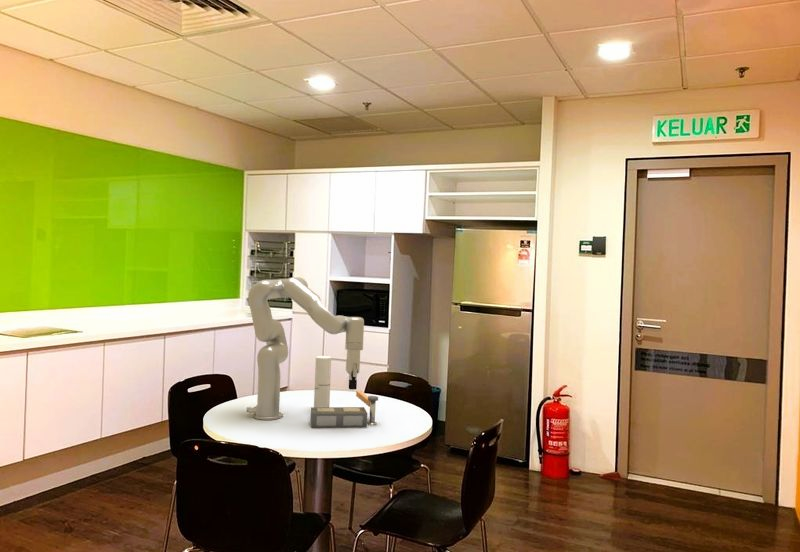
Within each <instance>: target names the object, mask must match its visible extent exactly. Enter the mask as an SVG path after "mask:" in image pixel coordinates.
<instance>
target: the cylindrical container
mask: <svg viewBox="0 0 800 552" xmlns="http://www.w3.org/2000/svg"><path fill="white" fill-rule="evenodd" d="M314 367H315V369H314V371H315V373H314V393H313V407H330V403H331V401H330V400H331V379H332V378H331V377H332V376H331V375H332V373H331V372H332V356H328V355H318V356H315V366H314Z"/></svg>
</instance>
